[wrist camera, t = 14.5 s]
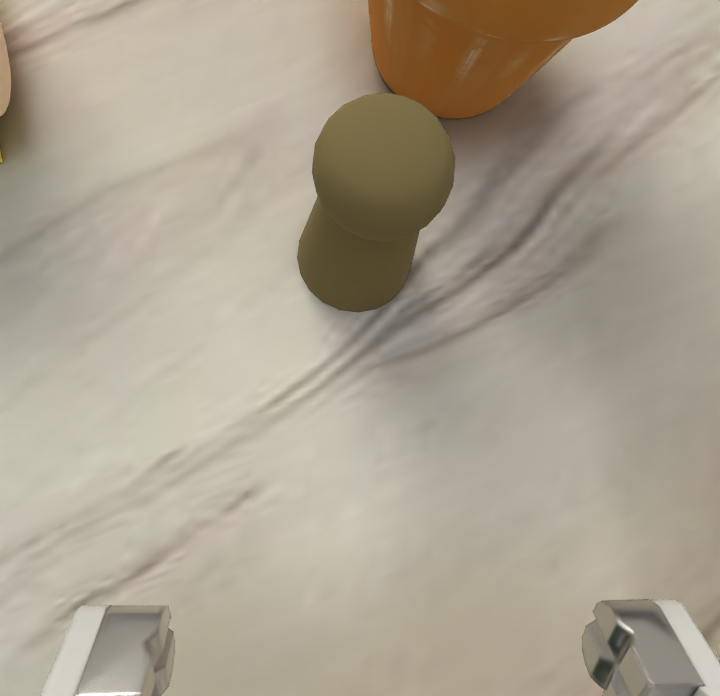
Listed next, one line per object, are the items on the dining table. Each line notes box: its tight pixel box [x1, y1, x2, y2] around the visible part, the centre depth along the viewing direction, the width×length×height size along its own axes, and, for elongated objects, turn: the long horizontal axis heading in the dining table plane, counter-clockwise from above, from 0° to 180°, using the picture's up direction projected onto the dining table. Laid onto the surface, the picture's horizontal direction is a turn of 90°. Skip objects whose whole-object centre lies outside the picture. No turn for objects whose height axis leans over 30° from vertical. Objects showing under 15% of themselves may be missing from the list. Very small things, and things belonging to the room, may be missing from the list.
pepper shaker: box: [297, 93, 455, 312], centre depth 24 cm, size 6×6×11 cm
